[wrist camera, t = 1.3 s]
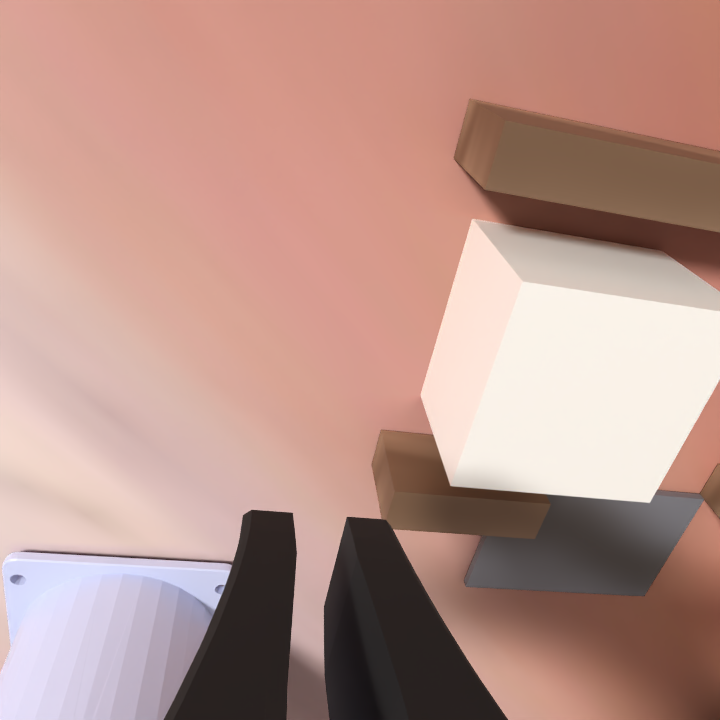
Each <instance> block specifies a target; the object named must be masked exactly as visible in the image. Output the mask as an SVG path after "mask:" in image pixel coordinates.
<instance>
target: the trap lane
mask: <svg viewBox="0 0 720 720" xmlns="http://www.w3.org/2000/svg"><path fill="white" fill-rule="evenodd" d="M454 159H455V160H456V161H457V162H458V163H459V164H460V165H461V166H462V167H463V168H464V169H465V170H466V171H467V172H468V173H469V174H470V175H471V176H472V177H473V178H474V179H475V180H476V181H477V182H478V183H479V185H480V186H481V187H482V188H483V189H484V190H489V191H494V192H500V193H505V194H511V195H516V196H522V197H527V198H533V199H538V200H544V201H549V202H555V203H560V204H566V205H571V206H577V207H582V208H588V209H593V210H599V211H604V212H610V213H615V214H621V215H626V216H632V217H637V218H643V219H648V220H654V221H659V222H665V223H670V224H676V225H681V226H687V227H692V228H698V229H703V230H709V231H715V232H720V151H716V150H712V149H707V148H702V147H697V146H693V145H688V144H683V143H678V142H673V141H669V140H664V139H659V138H654V137H650V136H645V135H640V134H635V133H631V132H626V131H621V130H616V129H611V128H607V127H602V126H597V125H592V124H588V123H583V122H578V121H573V120H569V119H564V118H559V117H554V116H549V115H545V114H540V113H535V112H530V111H526V110H521V109H516V108H511V107H507V106H502V105H497V104H492V103H488V102H483V101H478V100H473V99H470V100H469V103H468V107H467V111H466V114H465V118H464V122H463V126H462V129H461V133H460V137H459V141H458V144H457V148H456V152H455V156H454ZM372 469H373V474H374V480H375V485H376V490H377V496H378V501H379V507H380V512H381V517H382V519H383V520H387V522H388V523H389V524H390V525H391V527H392V529H398V530H412V531H426V532H440V533H455V534H469V535H482V538H481V540H480V543H479V545H478V547H477V550H476V552H475V555H474V557H473V560H472V562H471V565H470V567H469V570H468V572H467V575H466V577H465V579H464V583H465V586H466V587H478V588H497V589H516V590H534V591H553V592H572V593H591V594H610V595H628V596H645V594H646V592H647V591H648V589H649V588H650V586H651V584H652V583H653V581H654V580H655V578H656V576H657V575H658V573H659V572H660V570H661V568H662V567H663V565H664V563H665V562H666V560H667V559H668V557H669V555H670V554H671V552H672V551H673V549H674V547H675V546H676V544H677V542H678V541H679V539H680V538H681V536H682V534H683V533H684V531H685V530H686V528H687V526H688V525H689V523H690V522H691V520H692V518H693V517H694V515H695V513H696V512H697V510H698V509H699V507H700V505H701V504H702V502H703V501H704V500H705V501H706V502H707V503H708V505H709V506H710V507H711V508H712V509H713V511H714V512H715V513H716V514H717V516H718V517H719V518H720V464H718V465H717V467H716V468H715V470H714V471H713V473H712V475H711V476H710V478H709V480H708V481H707V483H706V485H705V486H704V488H703V489H702V491H701V493H700V494H695V493H684V492H673V491H661V490H657V491H656V493H655V495H654V496H653V498H652V500H651V502H650V503H645V502H634V501H622V500H610V499H598V498H586V497H574V496H562V495H550V494H538V493H527V492H515V491H503V490H491V489H479V488H467V487H455V486H450V483H449V480H448V477H447V474H446V471H445V468H444V465H443V462H442V459H441V456H440V453H439V450H438V447H437V444H436V441H435V438H434V435H427V434H417V433H408V432H398V431H388V430H381V432H380V435H379V439H378V443H377V447H376V450H375V454H374V458H373V462H372Z"/></svg>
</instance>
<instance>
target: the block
mask: <svg viewBox="0 0 720 720" xmlns="http://www.w3.org/2000/svg"><path fill="white" fill-rule="evenodd" d="M719 380H720V292H719V291H718V290H717V289H715V288H714V287H712V286H711V285H710V284H708V283H707V282H705V281H704V280H702V279H701V278H700V277H698V276H697V275H695V274H694V273H693V272H691V271H690V270H688V269H687V268H686V267H684V266H683V265H681V264H680V263H678V262H677V261H676V260H674V259H673V258H671V257H670V256H669V255H667V254H666V253H664V252H663V251H661V250H655V249H649V248H643V247H637V246H631V245H625V244H619V243H613V242H608V241H602V240H596V239H590V238H584V237H578V236H572V235H566V234H560V233H554V232H549V231H543V230H537V229H531V228H525V227H519V226H513V225H507V224H501V223H495V222H489V221H484V220H478V219H472V222H471V225H470V228H469V232H468V235H467V239H466V242H465V245H464V249H463V252H462V256H461V259H460V263H459V266H458V269H457V273H456V276H455V280H454V283H453V286H452V290H451V293H450V297H449V300H448V303H447V307H446V310H445V314H444V317H443V320H442V324H441V327H440V331H439V334H438V337H437V341H436V344H435V348H434V351H433V354H432V358H431V361H430V365H429V368H428V371H427V375H426V378H425V382H424V385H423V389H422V392H421V399H422V402H423V405H424V408H425V411H426V414H427V417H428V420H429V423H430V426H431V429H432V432H433V435H434V438H435V441H436V444H437V447H438V450H439V453H440V456H441V459H442V462H443V465H444V468H445V471H446V474H447V477H448V480H449V483H450V486H455V487H467V488H479V489H491V490H503V491H515V492H527V493H538V494H550V495H562V496H574V497H586V498H598V499H610V500H622V501H634V502H645V503H650V502H651V500H652V498H653V496H654V495H655V493H656V491H657V489H658V488H659V486H660V484H661V482H662V480H663V479H664V477H665V475H666V473H667V472H668V470H669V468H670V466H671V465H672V463H673V461H674V459H675V458H676V456H677V454H678V452H679V450H680V449H681V447H682V445H683V443H684V442H685V440H686V438H687V436H688V435H689V433H690V431H691V429H692V428H693V426H694V424H695V422H696V420H697V419H698V417H699V415H700V413H701V412H702V410H703V408H704V406H705V405H706V403H707V401H708V399H709V398H710V396H711V394H712V392H713V390H714V389H715V387H716V385H717V383H718V382H719Z"/></svg>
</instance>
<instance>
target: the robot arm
mask: <svg viewBox="0 0 720 720" xmlns="http://www.w3.org/2000/svg"><path fill="white" fill-rule="evenodd" d="M296 556H297V551H296V539H295V529H294V520H293V513H287V512H274V511H260V510H251V511H249V512H248V513H246V514H244V515H243V520H242V526H241V533H240V539H239V544H238V548H237V551H236V555H235V558H234V561H233V565H230V564H226V563H210V562H192V561H174V560H157V559H139V558H121V557H103V556H86V555H68V554H50V553H33V552H14V553H11V554H9V555H8V556H7V557H6V559H5V561H4V563H3V566H2V572H3V581H4V590H5V599H6V608H7V617H8V626H9V635H10V645H11V648H10V651H9V653H8V656H7V658H6V660H5V663H4V665H3V668H2V670H1V673H0V720H286V712H287V682H288V668H289V654H290V641H291V627H292V613H293V599H294V585H295V571H296ZM20 575H22V576H20ZM221 585H225V586H221ZM324 664H325V682H326V691H327V700H328V709H329V718H330V720H508V719H507V717H506V716H505V715H504V713H503V712H502V710H501V709H500V707H499V706H498V705H497V703H496V702H495V700H494V699H493V697H492V696H491V694H490V693H489V691H488V690H487V689H486V687H485V686H484V684H483V683H482V681H481V680H480V678H479V677H478V675H477V674H476V672H475V671H474V669H473V668H472V666H471V664H470V663H469V661H468V660H467V658H466V657H465V655H464V654H463V652H462V650H461V649H460V647H459V646H458V644H457V642H456V641H455V639H454V637H453V636H452V634H451V633H450V631H449V629H448V628H447V626H446V624H445V623H444V621H443V620H442V618H441V616H440V615H439V613H438V611H437V610H436V608H435V606H434V604H433V603H432V601H431V599H430V598H429V596H428V594H427V592H426V590H425V589H424V587H423V585H422V583H421V582H420V580H419V578H418V576H417V574H416V573H415V571H414V569H413V567H412V565H411V563H410V562H409V560H408V558H407V556H406V554H405V552H404V550H403V548H402V546H401V544H400V543H399V541H398V539H397V537H396V535H395V533H394V531H393V529H392V527H391V525H390V524H389V523H388V522H387V520H383V519H370V518H356V517H347V519H346V523H345V527H344V531H343V535H342V539H341V543H340V546H339V550H338V554H337V558H336V562H335V566H334V570H333V574H332V578H331V581H330V585H329V589H328V593H327V597H326V601H325V605H324Z"/></svg>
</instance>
